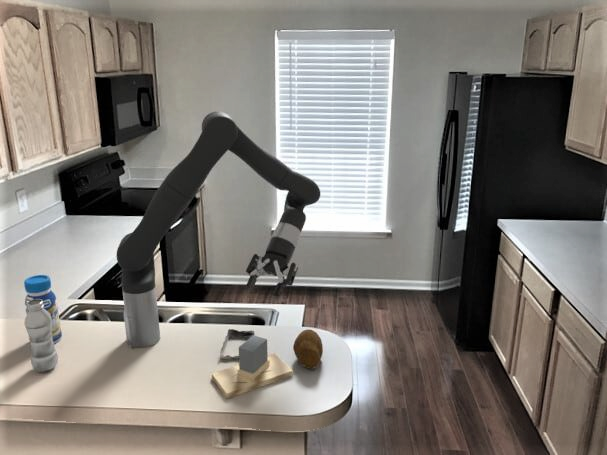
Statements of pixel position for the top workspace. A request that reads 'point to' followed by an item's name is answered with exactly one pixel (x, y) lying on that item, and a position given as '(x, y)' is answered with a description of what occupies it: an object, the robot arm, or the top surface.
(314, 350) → the potato
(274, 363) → the pine board
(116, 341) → the top surface
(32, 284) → the beverage bottle
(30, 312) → the plastic bottle
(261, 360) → the sanding block
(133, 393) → the top surface
